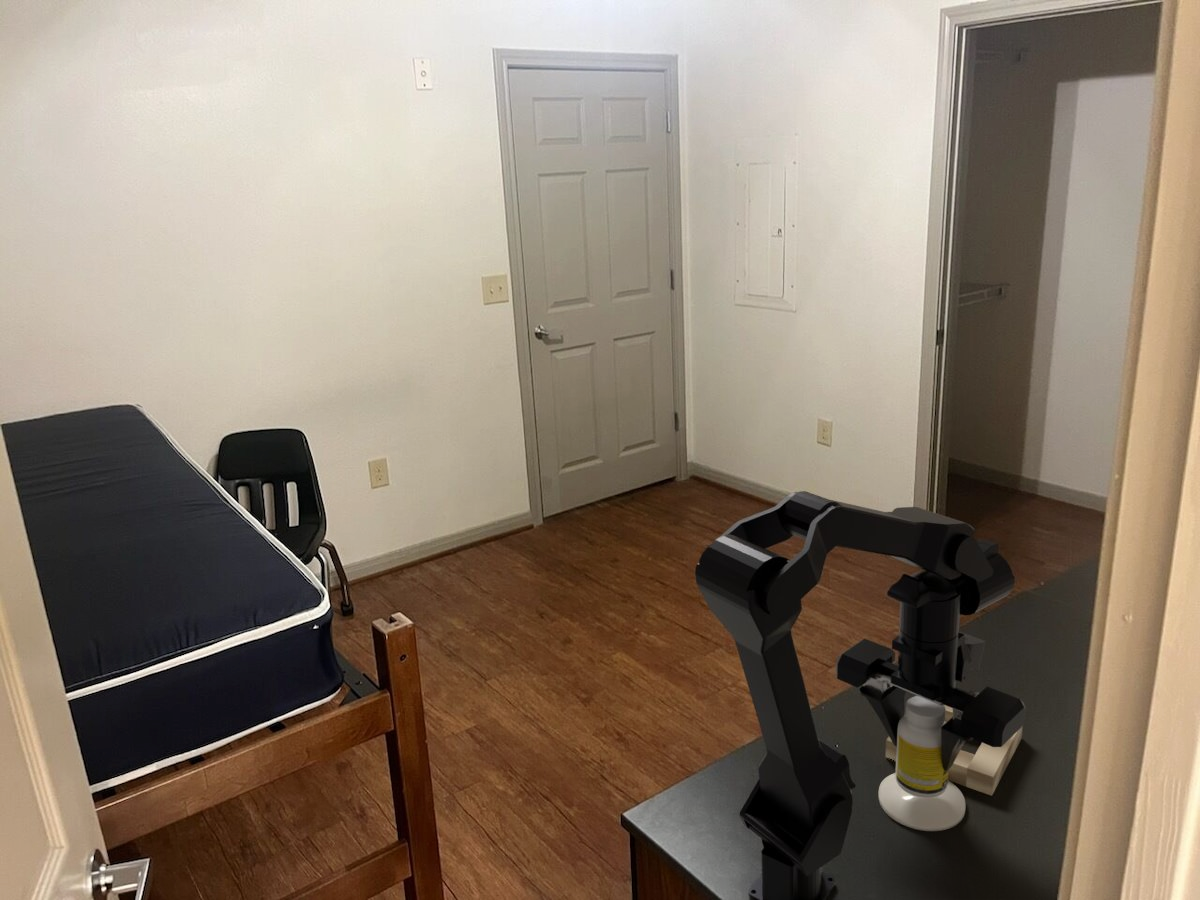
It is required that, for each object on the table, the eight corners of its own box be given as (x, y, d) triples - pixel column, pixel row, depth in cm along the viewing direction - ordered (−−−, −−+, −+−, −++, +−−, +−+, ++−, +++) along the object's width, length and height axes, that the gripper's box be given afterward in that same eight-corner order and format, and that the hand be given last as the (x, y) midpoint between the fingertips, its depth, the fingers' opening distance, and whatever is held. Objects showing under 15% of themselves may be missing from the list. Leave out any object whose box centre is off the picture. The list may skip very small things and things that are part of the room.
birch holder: (991, 795, 99) (993, 777, 98) (885, 757, 106) (886, 740, 106) (1021, 738, 108) (1023, 720, 107) (921, 706, 115) (922, 689, 114)
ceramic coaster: (949, 843, 93) (949, 838, 93) (865, 810, 98) (865, 805, 98) (976, 793, 100) (976, 788, 99) (896, 764, 105) (896, 760, 105)
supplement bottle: (951, 801, 95) (956, 723, 92) (898, 797, 96) (901, 720, 93) (943, 768, 100) (948, 692, 97) (892, 765, 101) (895, 690, 98)
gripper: (1056, 628, 90) (1043, 758, 95) (889, 574, 104) (886, 691, 109) (1004, 674, 83) (993, 812, 88) (833, 610, 97) (832, 733, 102)
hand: (922, 756), depth 97 cm, fingers closed on supplement bottle, 5 cm apart
